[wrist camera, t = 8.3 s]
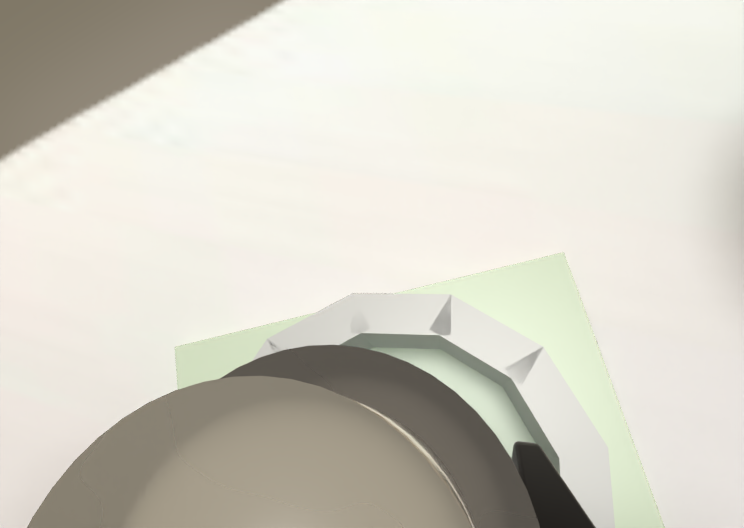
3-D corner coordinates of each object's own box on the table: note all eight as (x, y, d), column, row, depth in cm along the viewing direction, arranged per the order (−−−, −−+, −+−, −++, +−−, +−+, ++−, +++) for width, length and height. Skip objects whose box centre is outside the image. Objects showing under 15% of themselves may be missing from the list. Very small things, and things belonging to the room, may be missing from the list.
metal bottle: (329, 606, 14) (-177, 1310, 3) (301, 420, 16) (-73, 369, 5) (508, 569, 14) (797, 1189, 2) (459, 384, 16) (489, 228, 4)
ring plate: (212, 759, 14) (154, 837, 12) (182, 349, 19) (133, 333, 16) (710, 668, 13) (778, 730, 11) (560, 257, 18) (581, 222, 15)
